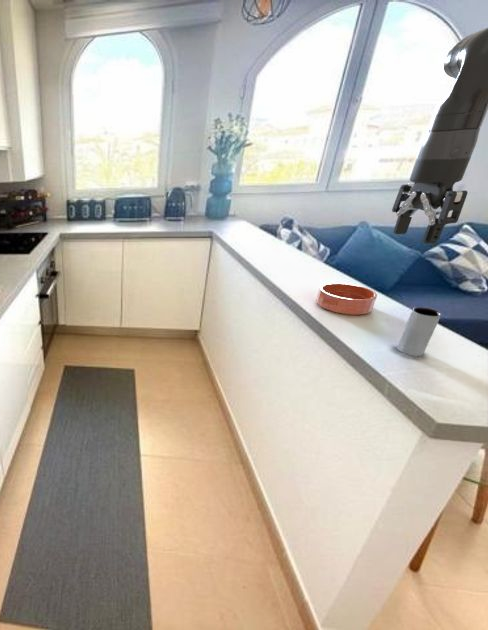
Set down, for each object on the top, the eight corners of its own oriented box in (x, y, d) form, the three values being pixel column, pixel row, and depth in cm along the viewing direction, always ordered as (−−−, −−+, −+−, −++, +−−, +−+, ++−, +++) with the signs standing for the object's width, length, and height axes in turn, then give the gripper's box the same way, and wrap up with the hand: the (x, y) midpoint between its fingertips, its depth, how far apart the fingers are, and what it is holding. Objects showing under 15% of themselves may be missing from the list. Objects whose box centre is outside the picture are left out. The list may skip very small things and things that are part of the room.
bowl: (373, 303, 103) (378, 288, 100) (368, 320, 94) (374, 303, 92) (320, 294, 111) (324, 280, 109) (312, 309, 102) (316, 293, 100)
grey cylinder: (398, 353, 80) (414, 313, 75) (395, 344, 83) (411, 305, 78) (424, 358, 77) (443, 317, 73) (421, 349, 80) (439, 309, 76)
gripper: (501, 155, 60) (462, 246, 67) (436, 153, 73) (409, 230, 80) (451, 158, 61) (417, 247, 68) (396, 156, 74) (372, 231, 81)
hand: (413, 238), depth 74 cm, fingers open, 8 cm apart
